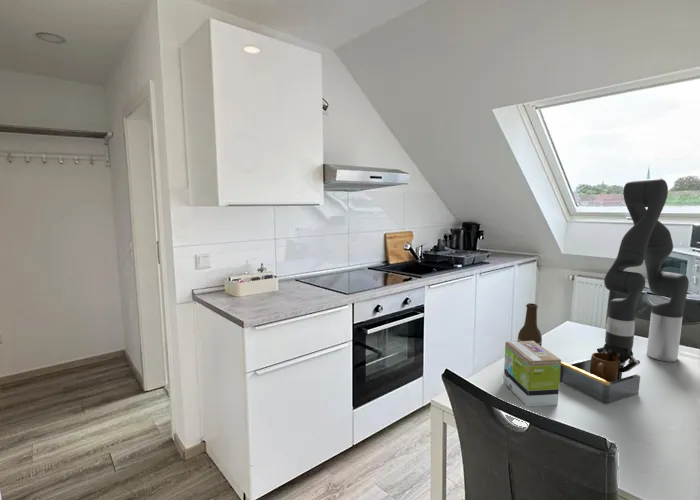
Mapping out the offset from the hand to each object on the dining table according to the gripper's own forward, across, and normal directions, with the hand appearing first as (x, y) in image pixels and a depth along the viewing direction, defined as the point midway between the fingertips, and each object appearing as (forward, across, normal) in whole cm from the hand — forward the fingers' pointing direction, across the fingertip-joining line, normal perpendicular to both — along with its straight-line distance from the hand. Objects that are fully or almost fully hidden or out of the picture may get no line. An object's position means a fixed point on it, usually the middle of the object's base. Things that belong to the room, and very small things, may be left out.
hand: (615, 380), depth 127 cm
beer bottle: (0, +19, +19) cm, 27 cm away
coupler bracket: (0, 0, +9) cm, 9 cm away
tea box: (0, +6, +33) cm, 33 cm away
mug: (+1, 0, +7) cm, 7 cm away
